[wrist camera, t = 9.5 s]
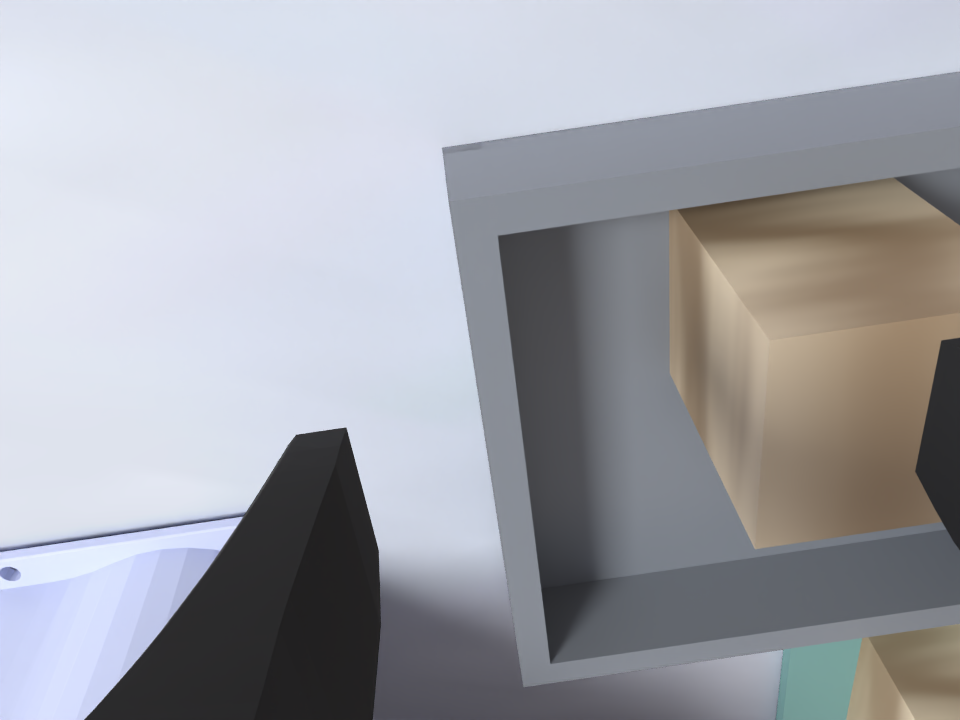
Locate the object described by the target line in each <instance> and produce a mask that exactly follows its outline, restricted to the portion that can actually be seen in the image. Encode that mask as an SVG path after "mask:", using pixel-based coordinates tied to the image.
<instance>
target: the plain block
mask: <svg viewBox="0 0 960 720" xmlns="http://www.w3.org/2000/svg"><path fill="white" fill-rule="evenodd" d="M669 309H670V375H671V377H672V379H673V381H674V383H675V385H676V387H677V389H678V391H679V394H680V396H681V398H682V400H683V402H684V404H685V406H686V408H687V410H688V412H689V414H690V416H691V418H692V420H693V422H694V424H695V427H696V429H697V431H698V433H699V435H700V437H701V439H702V441H703V443H704V445H705V447H706V449H707V451H708V453H709V455H710V458H711V460H712V462H713V464H714V466H715V468H716V470H717V472H718V474H719V476H720V478H721V480H722V482H723V484H724V486H725V489H726V491H727V493H728V495H729V497H730V499H731V501H732V503H733V505H734V507H735V509H736V511H737V513H738V515H739V517H740V519H741V522H742V524H743V526H744V528H745V530H746V532H747V534H748V536H749V538H750V540H751V542H752V544H753V546H754V548H755V549H760V548H767V547H774V546H781V545H788V544H794V543H801V542H808V541H815V540H822V539H829V538H836V537H842V536H849V535H856V534H863V533H870V532H877V531H884V530H890V529H897V528H904V527H911V526H918V525H925V524H931V523H938V522H942V521H941V519H940V517H939V516H938V514H937V512H936V510H935V509H934V507H933V505H932V503H931V501H930V499H929V497H928V495H927V493H926V491H925V489H924V488H923V486H922V484H921V482H920V480H919V478H918V476H917V474H916V472H915V469H916V464H917V459H918V454H919V449H920V444H921V439H922V434H923V429H924V424H925V419H926V414H927V409H928V404H929V399H930V394H931V389H932V384H933V379H934V374H935V369H936V364H937V359H938V354H939V349H940V344H941V340H947V339H954V338H960V225H958V224H957V223H956V222H954V221H953V220H951V219H950V218H949V217H947V216H946V215H944V214H943V213H942V212H940V211H939V210H938V209H936V208H935V207H933V206H932V205H931V204H929V203H928V202H927V201H925V200H924V199H922V198H921V197H920V196H918V195H917V194H915V193H914V192H913V191H911V190H910V189H909V188H907V187H906V186H904V185H903V184H902V183H900V182H899V181H897V180H896V179H895V178H887V179H880V180H873V181H866V182H860V183H853V184H846V185H839V186H832V187H826V188H819V189H812V190H805V191H798V192H792V193H785V194H778V195H771V196H764V197H758V198H751V199H744V200H737V201H730V202H724V203H717V204H710V205H703V206H696V207H690V208H683V209H676V210H669Z"/></svg>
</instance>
